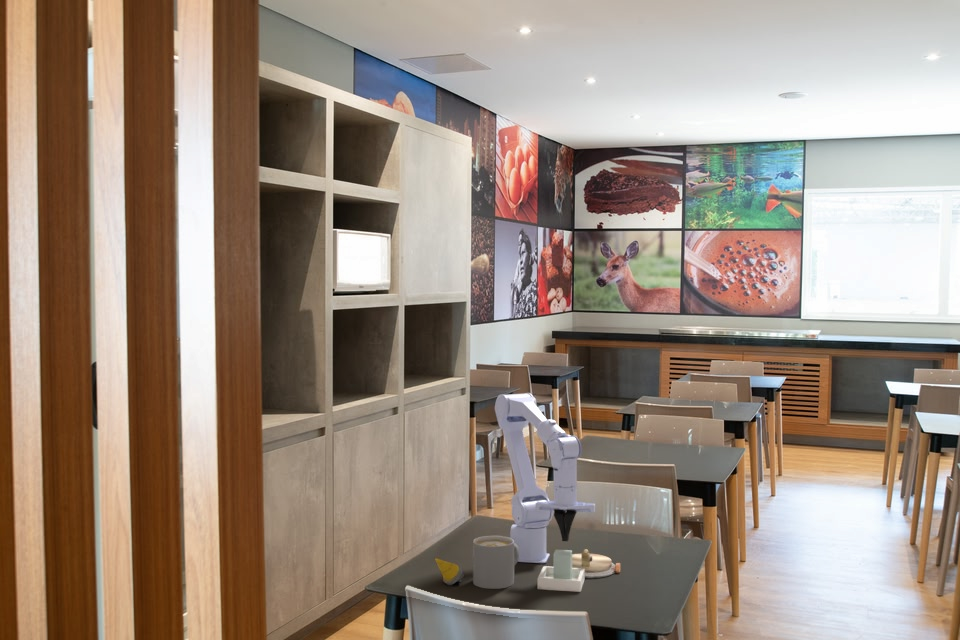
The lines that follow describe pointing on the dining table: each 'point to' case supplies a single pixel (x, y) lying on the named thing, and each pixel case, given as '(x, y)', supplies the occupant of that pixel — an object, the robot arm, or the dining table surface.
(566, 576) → the block
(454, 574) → the yellow and grey cone
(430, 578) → the dining table surface
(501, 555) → the coffee mug
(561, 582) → the tray
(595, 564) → the crank
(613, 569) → the crank base
